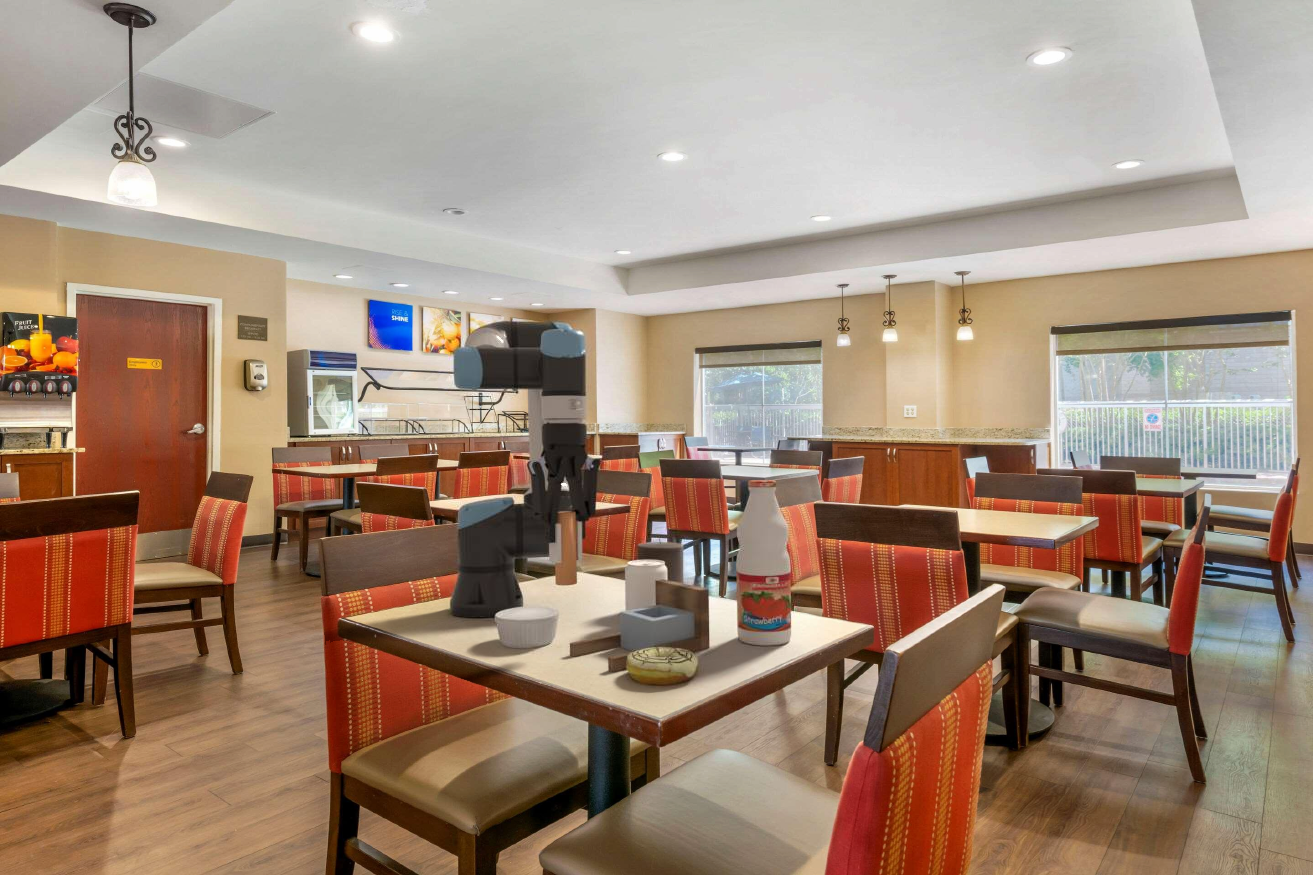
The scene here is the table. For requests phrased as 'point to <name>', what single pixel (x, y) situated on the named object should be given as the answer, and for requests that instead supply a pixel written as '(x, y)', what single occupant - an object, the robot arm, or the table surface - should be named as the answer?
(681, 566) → the pillar candle
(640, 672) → the decorated donut
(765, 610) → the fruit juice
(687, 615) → the socket block
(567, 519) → the dowel
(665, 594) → the track with backstop wall
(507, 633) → the ramekin
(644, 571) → the beverage can
